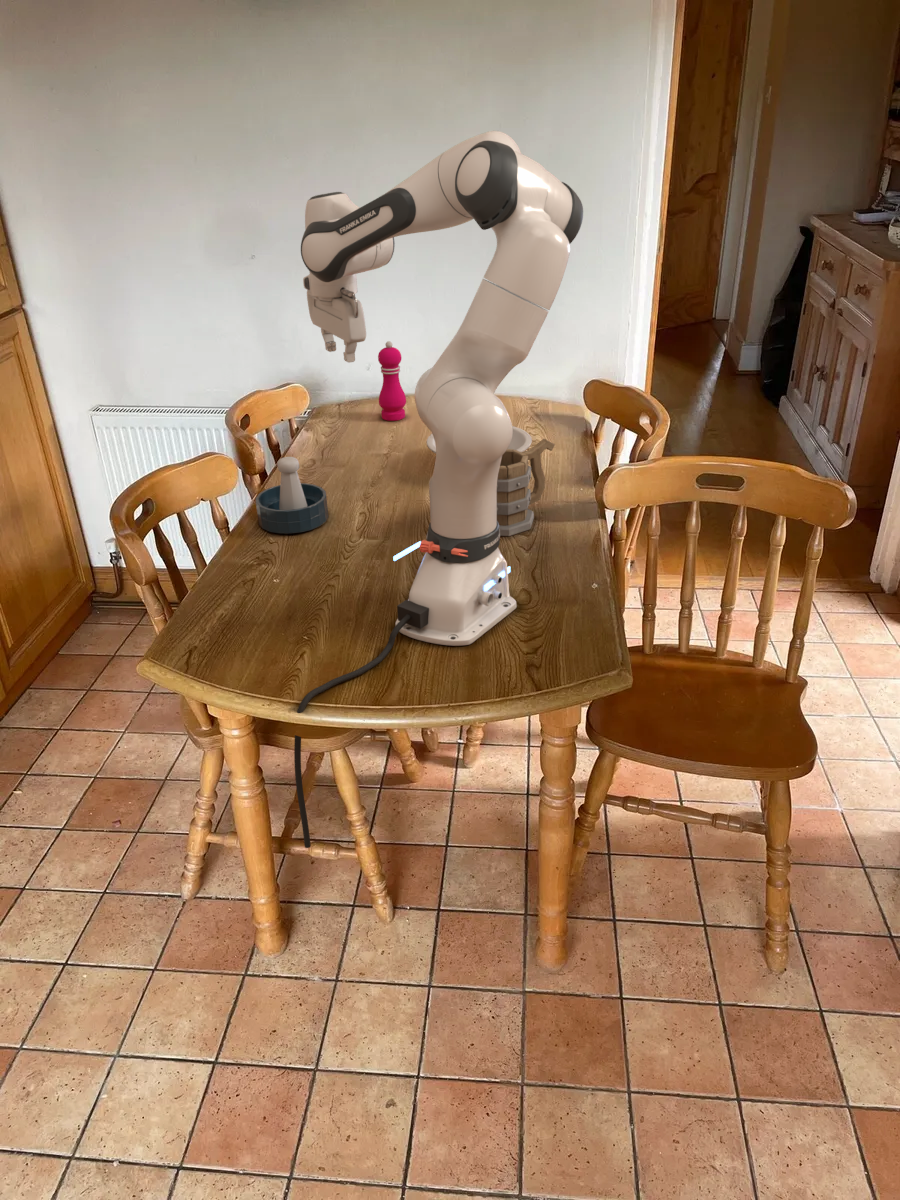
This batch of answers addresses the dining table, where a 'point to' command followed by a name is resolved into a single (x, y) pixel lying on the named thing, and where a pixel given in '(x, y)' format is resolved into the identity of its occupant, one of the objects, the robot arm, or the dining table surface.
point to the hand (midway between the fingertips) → (340, 356)
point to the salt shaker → (290, 485)
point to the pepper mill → (391, 384)
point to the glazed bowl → (296, 518)
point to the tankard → (519, 488)
